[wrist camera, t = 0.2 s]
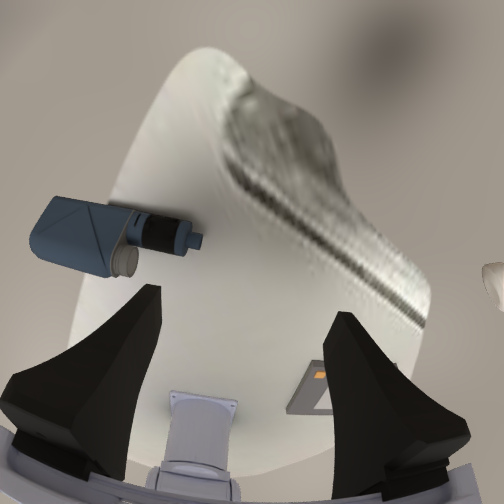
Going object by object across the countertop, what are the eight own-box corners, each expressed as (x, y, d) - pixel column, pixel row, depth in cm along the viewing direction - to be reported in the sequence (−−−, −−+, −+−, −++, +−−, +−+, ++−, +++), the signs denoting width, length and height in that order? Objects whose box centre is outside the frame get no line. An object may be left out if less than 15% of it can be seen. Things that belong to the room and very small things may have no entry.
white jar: (475, 259, 22) (504, 292, 18) (497, 242, 21) (527, 273, 17) (482, 292, 24) (505, 324, 20) (502, 276, 23) (527, 307, 19)
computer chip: (359, 409, 34) (360, 415, 33) (286, 408, 33) (286, 415, 32) (396, 363, 29) (398, 370, 28) (312, 360, 28) (313, 368, 27)
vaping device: (66, 210, 21) (205, 239, 22) (36, 263, 18) (185, 304, 18) (57, 188, 19) (205, 215, 19) (22, 243, 16) (183, 285, 16)
